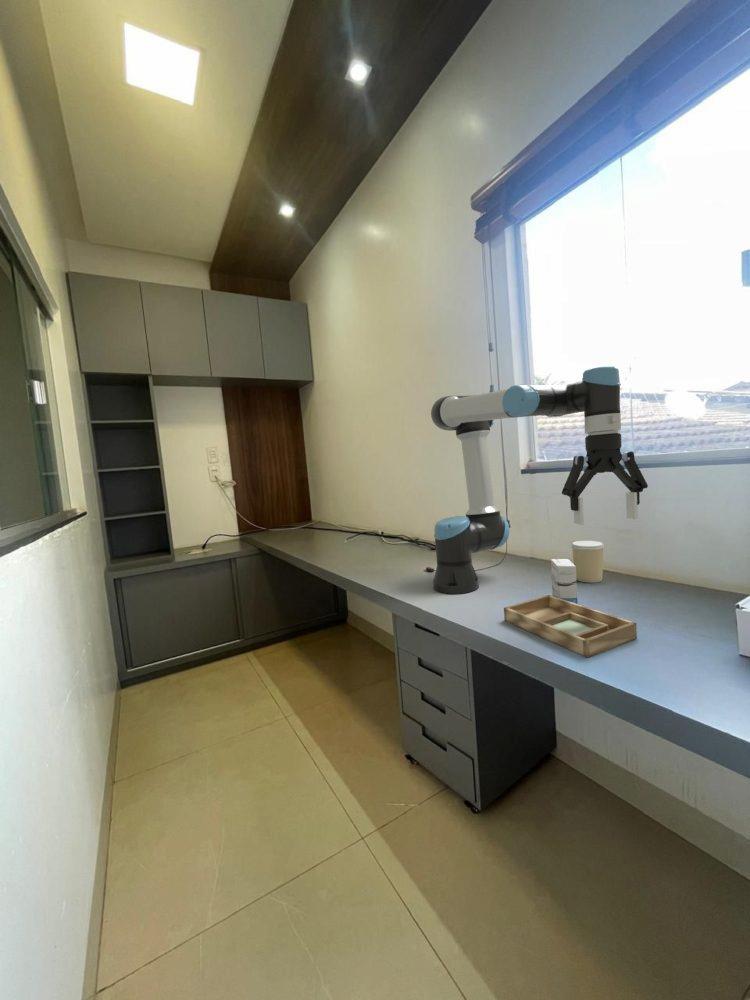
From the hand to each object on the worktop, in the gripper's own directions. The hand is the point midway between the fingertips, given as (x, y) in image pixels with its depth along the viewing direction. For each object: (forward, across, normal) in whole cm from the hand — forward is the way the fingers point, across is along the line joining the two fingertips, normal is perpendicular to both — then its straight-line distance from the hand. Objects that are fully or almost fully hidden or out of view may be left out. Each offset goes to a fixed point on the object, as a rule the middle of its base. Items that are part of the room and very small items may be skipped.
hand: (605, 521), depth 97 cm
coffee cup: (+25, +15, +31) cm, 43 cm away
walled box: (+25, -13, -2) cm, 28 cm away
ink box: (+25, -4, +14) cm, 29 cm away
